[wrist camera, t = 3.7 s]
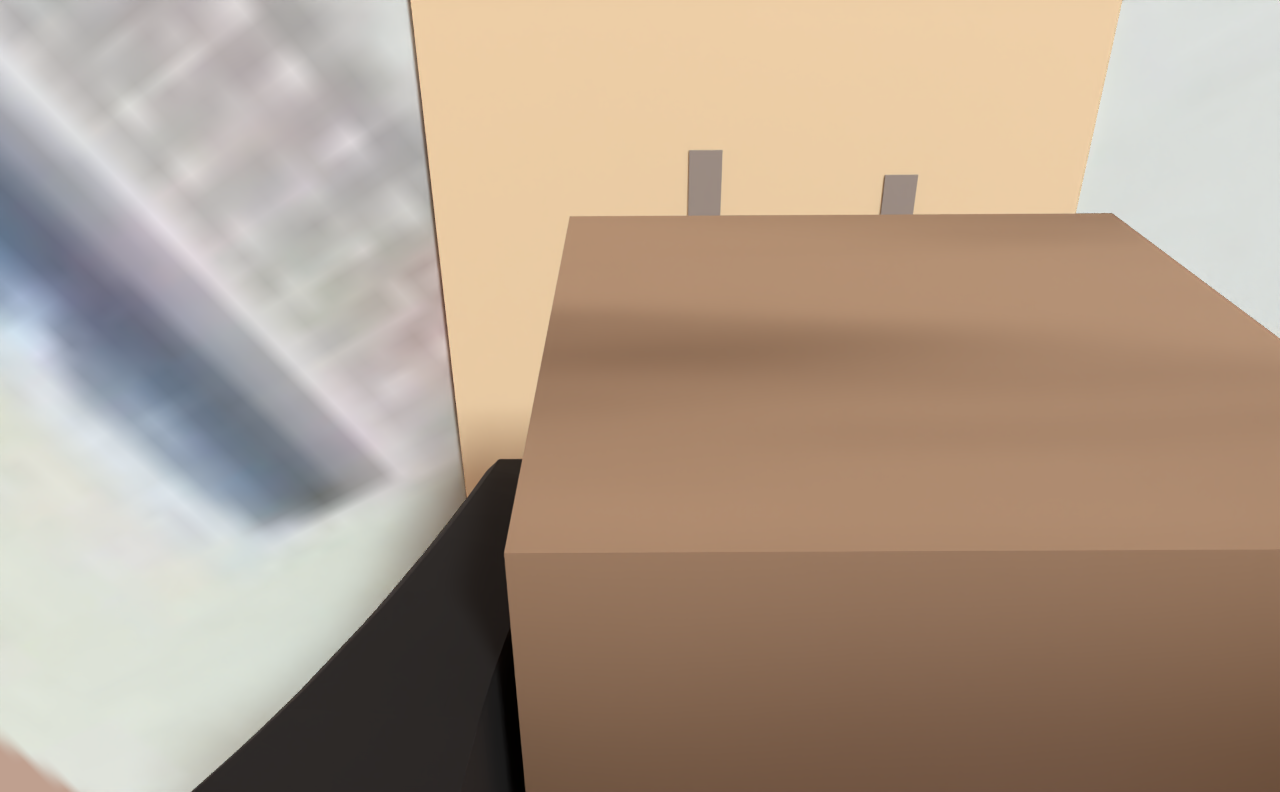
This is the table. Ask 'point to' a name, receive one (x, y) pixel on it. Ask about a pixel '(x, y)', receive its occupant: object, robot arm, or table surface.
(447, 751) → the robot arm
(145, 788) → the table surface
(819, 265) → the walnut block
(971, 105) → the envelope
